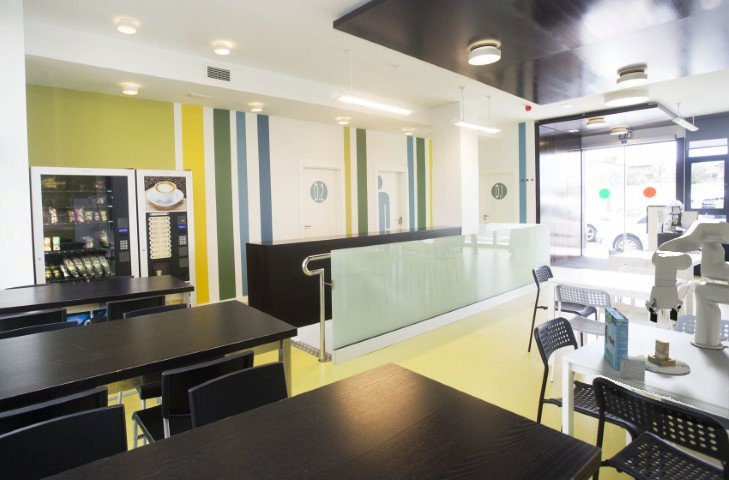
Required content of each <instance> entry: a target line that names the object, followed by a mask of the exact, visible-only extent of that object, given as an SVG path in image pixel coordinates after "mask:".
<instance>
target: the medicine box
mask: <svg viewBox="0 0 729 480" xmlns="http://www.w3.org/2000/svg"><path fill="white" fill-rule="evenodd" d="M619 373H620V376H621V378H622V379H623V380H629V381H641V382H644V381H645V380H646V379H645V377H646V375H645V374H646V369H645V360H644V359H643V358H642V357H636V356H631V355H628V356H621V363H620V370H619Z"/></svg>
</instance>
